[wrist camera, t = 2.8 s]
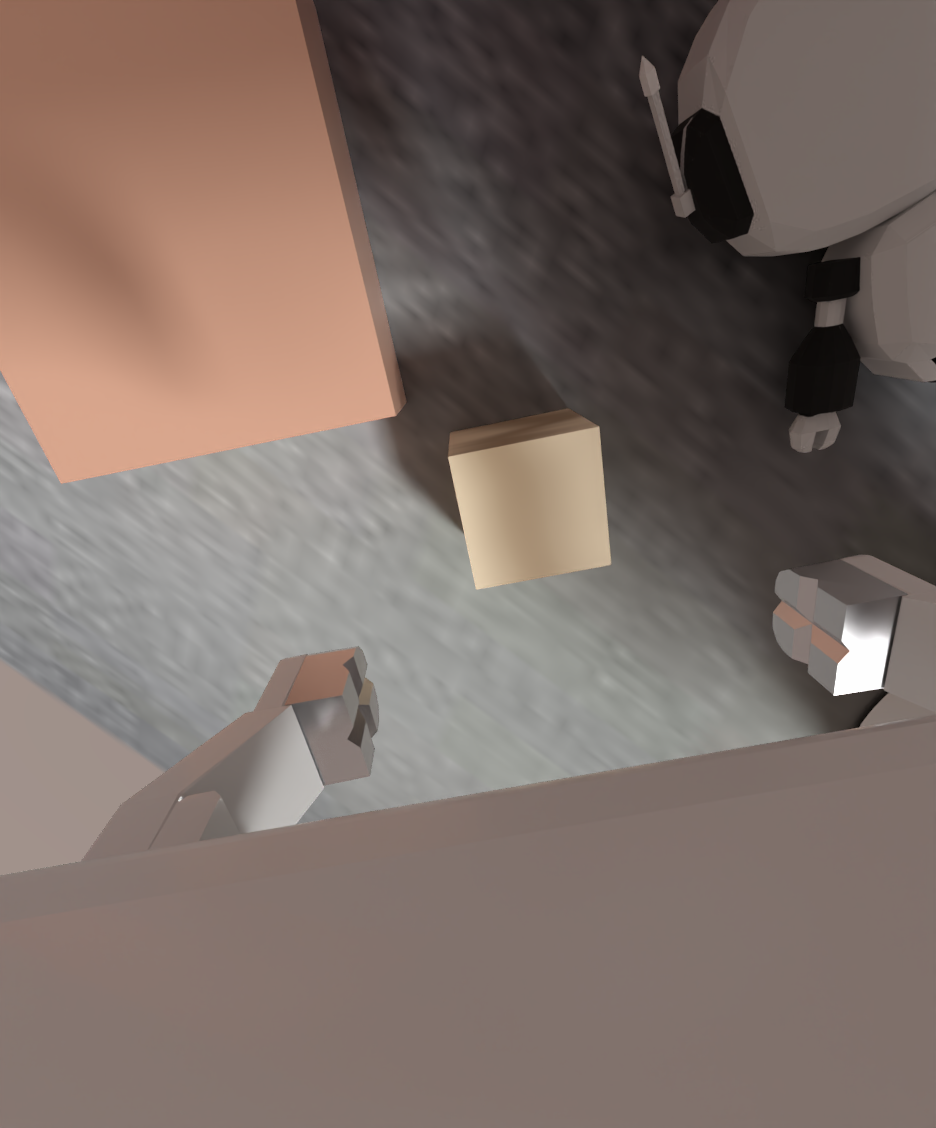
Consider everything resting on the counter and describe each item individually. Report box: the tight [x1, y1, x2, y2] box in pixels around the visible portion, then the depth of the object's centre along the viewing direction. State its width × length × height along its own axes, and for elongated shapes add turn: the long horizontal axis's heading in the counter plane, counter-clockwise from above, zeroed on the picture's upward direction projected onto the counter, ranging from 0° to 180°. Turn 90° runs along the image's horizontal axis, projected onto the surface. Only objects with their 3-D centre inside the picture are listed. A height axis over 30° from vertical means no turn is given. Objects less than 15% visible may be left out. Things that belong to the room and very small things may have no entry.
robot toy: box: [639, 0, 936, 453], centre depth 16 cm, size 12×4×15 cm
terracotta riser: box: [0, 0, 407, 484], centre depth 17 cm, size 12×12×4 cm
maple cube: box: [448, 408, 611, 590], centre depth 20 cm, size 5×5×5 cm
